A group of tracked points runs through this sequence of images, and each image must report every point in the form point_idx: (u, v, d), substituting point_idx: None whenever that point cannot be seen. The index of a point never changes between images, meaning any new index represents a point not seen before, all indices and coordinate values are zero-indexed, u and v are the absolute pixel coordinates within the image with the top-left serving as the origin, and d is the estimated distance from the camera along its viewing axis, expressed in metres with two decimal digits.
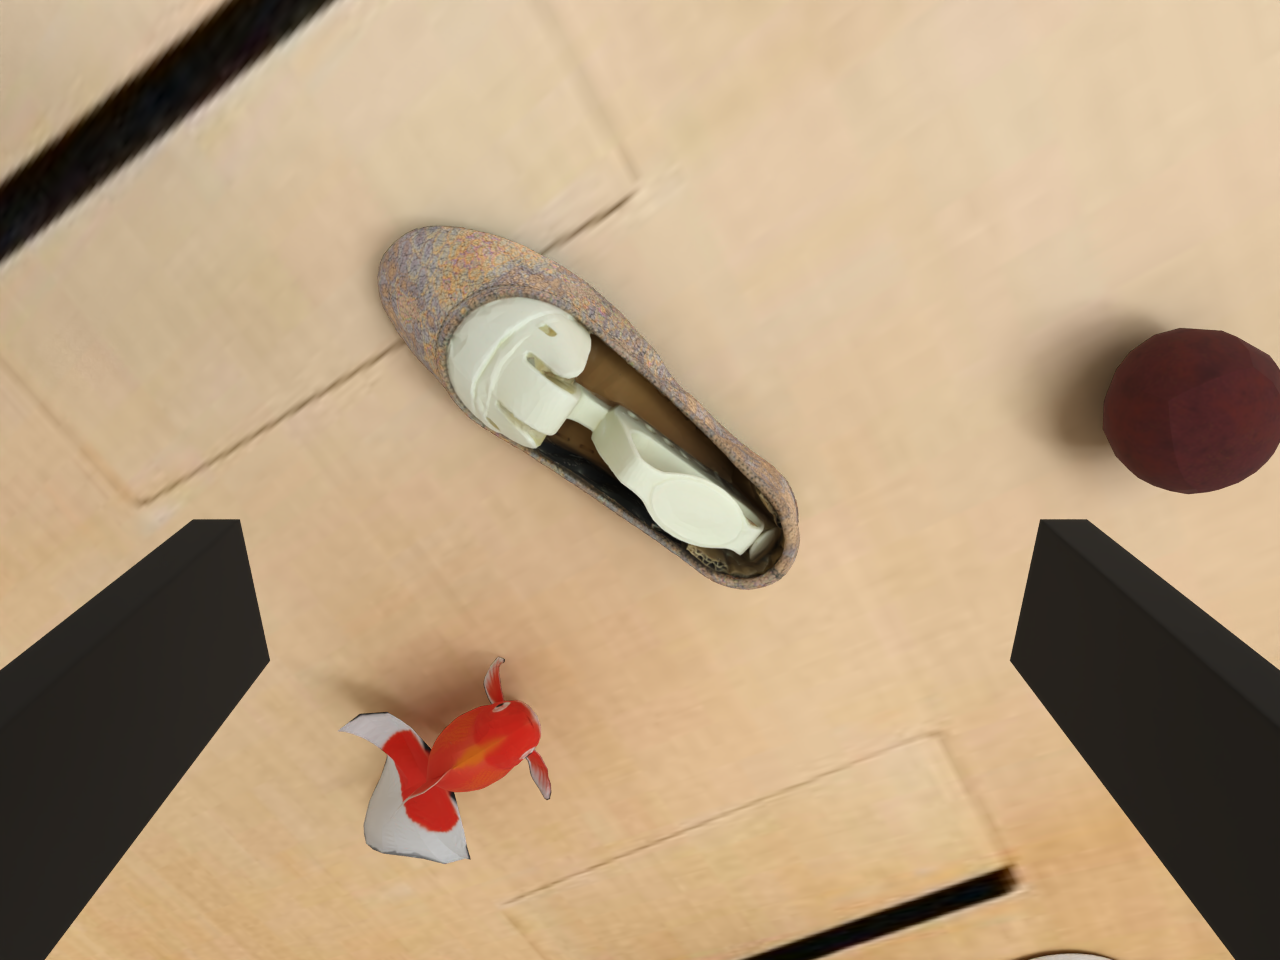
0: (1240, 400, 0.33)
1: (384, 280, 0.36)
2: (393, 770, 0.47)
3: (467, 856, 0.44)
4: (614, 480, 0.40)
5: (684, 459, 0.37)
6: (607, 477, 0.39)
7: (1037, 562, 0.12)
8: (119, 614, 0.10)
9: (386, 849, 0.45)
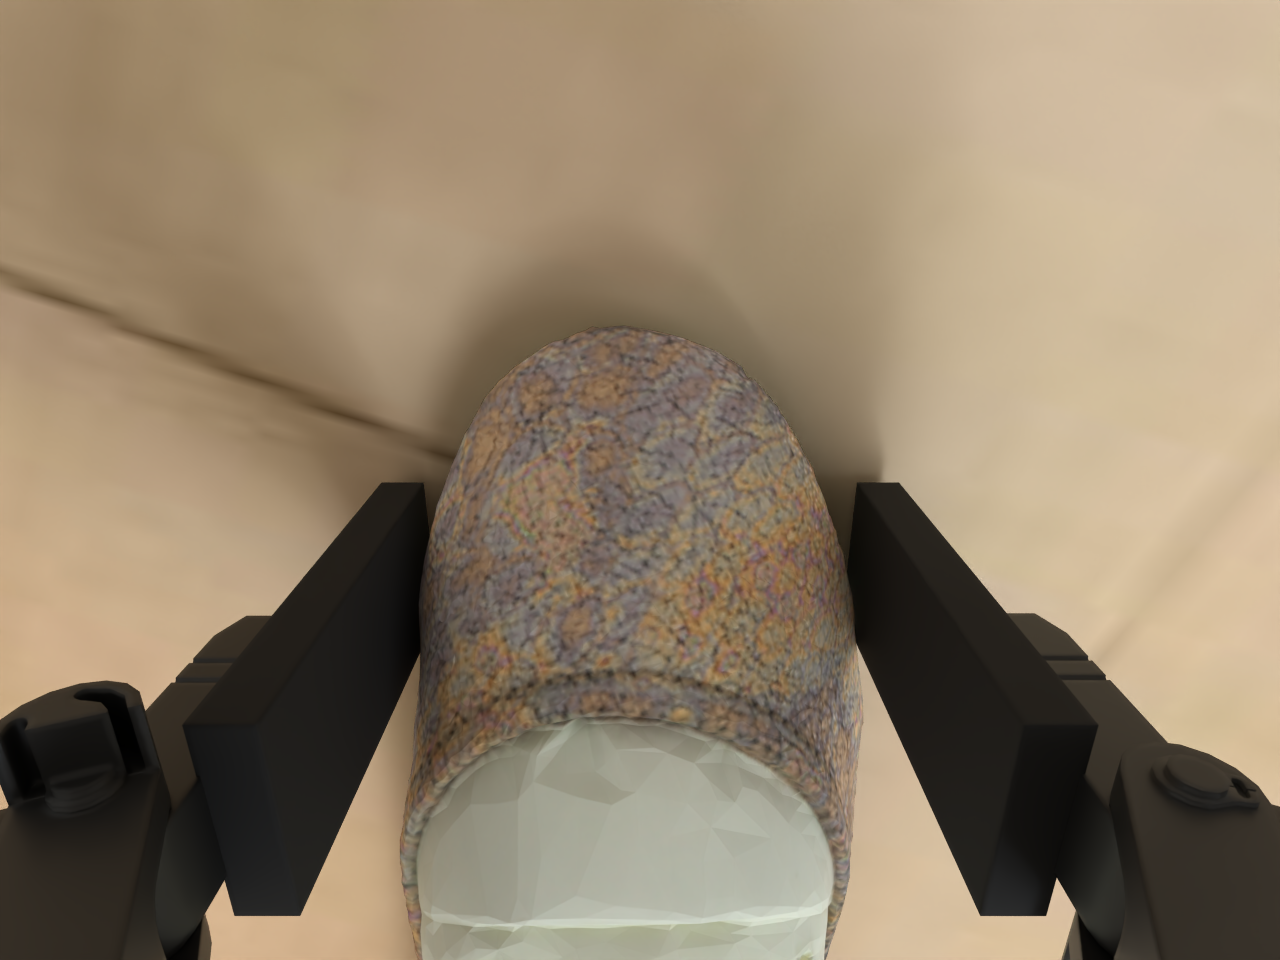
0: None
1: (562, 376, 0.11)
2: None
3: None
4: None
5: None
6: None
7: (855, 521, 0.14)
8: (362, 556, 0.11)
9: None
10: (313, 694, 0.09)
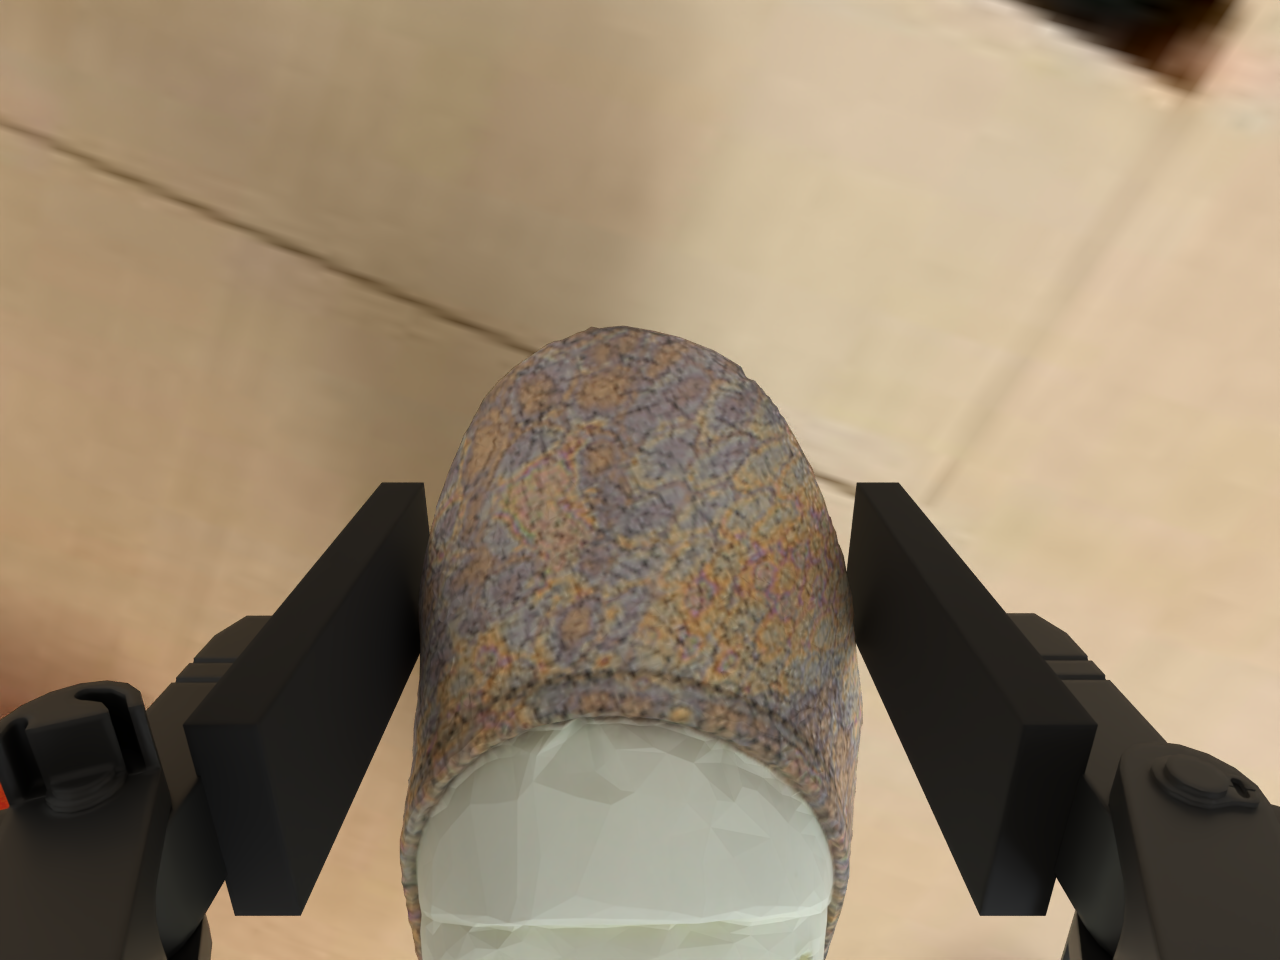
0: None
1: (561, 376, 0.12)
2: None
3: None
4: None
5: None
6: None
7: (855, 521, 0.14)
8: (362, 556, 0.11)
9: None
10: (313, 693, 0.09)
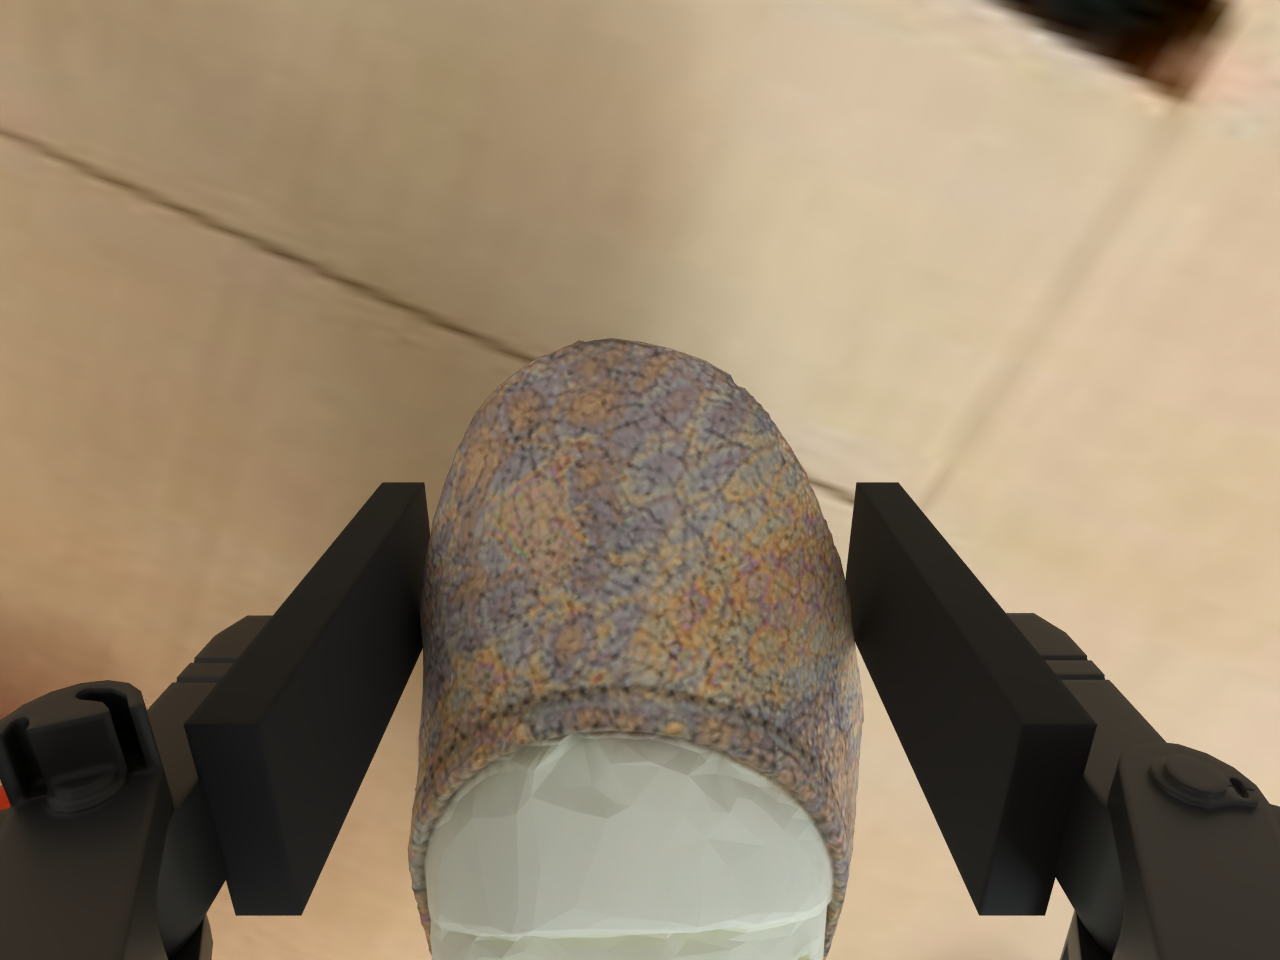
0: None
1: (549, 391, 0.12)
2: None
3: None
4: None
5: None
6: None
7: (855, 521, 0.14)
8: (363, 556, 0.11)
9: None
10: (314, 693, 0.09)
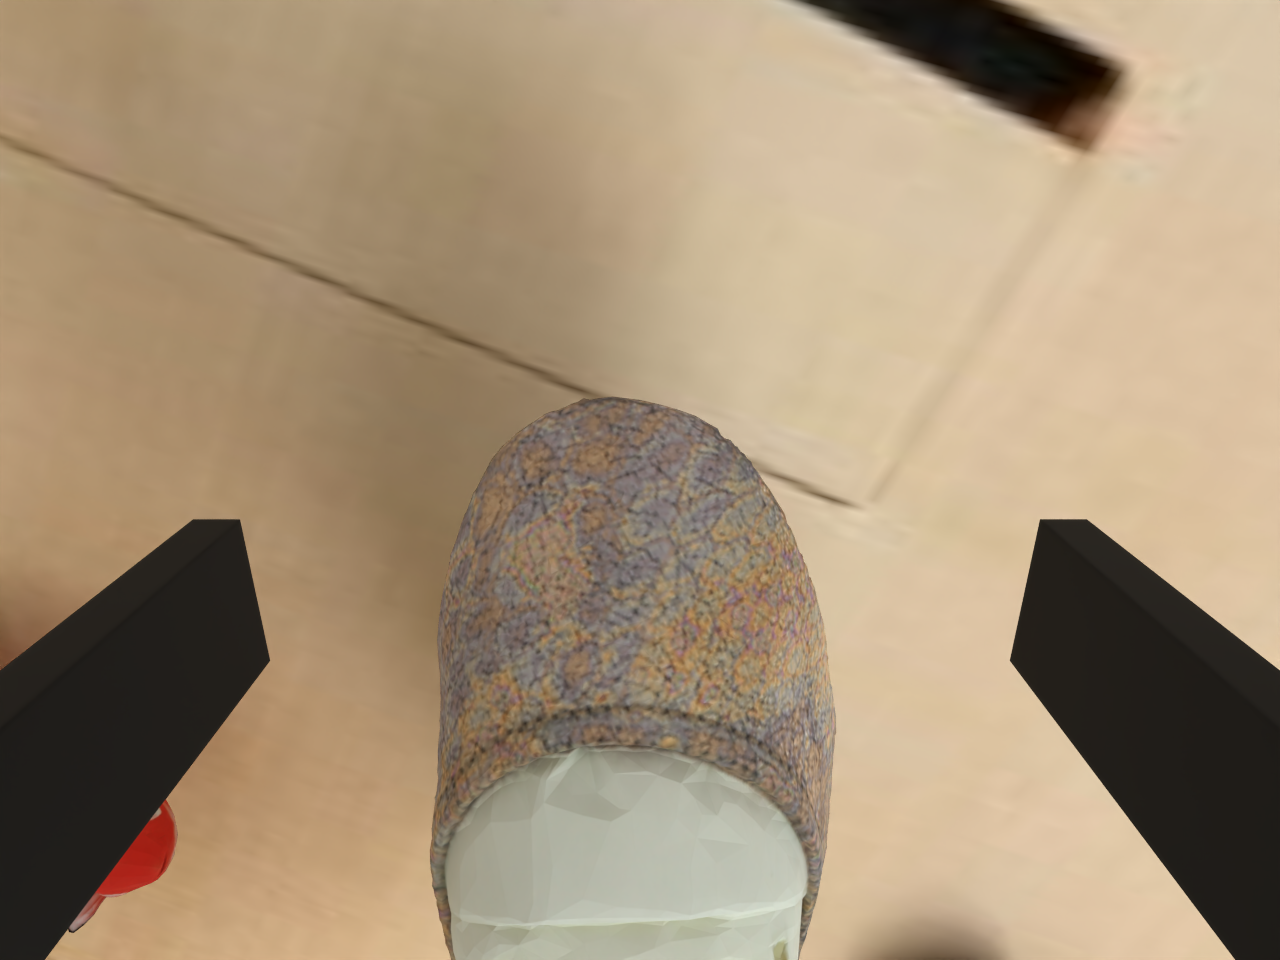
0: None
1: (557, 444, 0.13)
2: None
3: None
4: None
5: None
6: None
7: (1037, 562, 0.12)
8: (119, 614, 0.10)
9: None
10: None
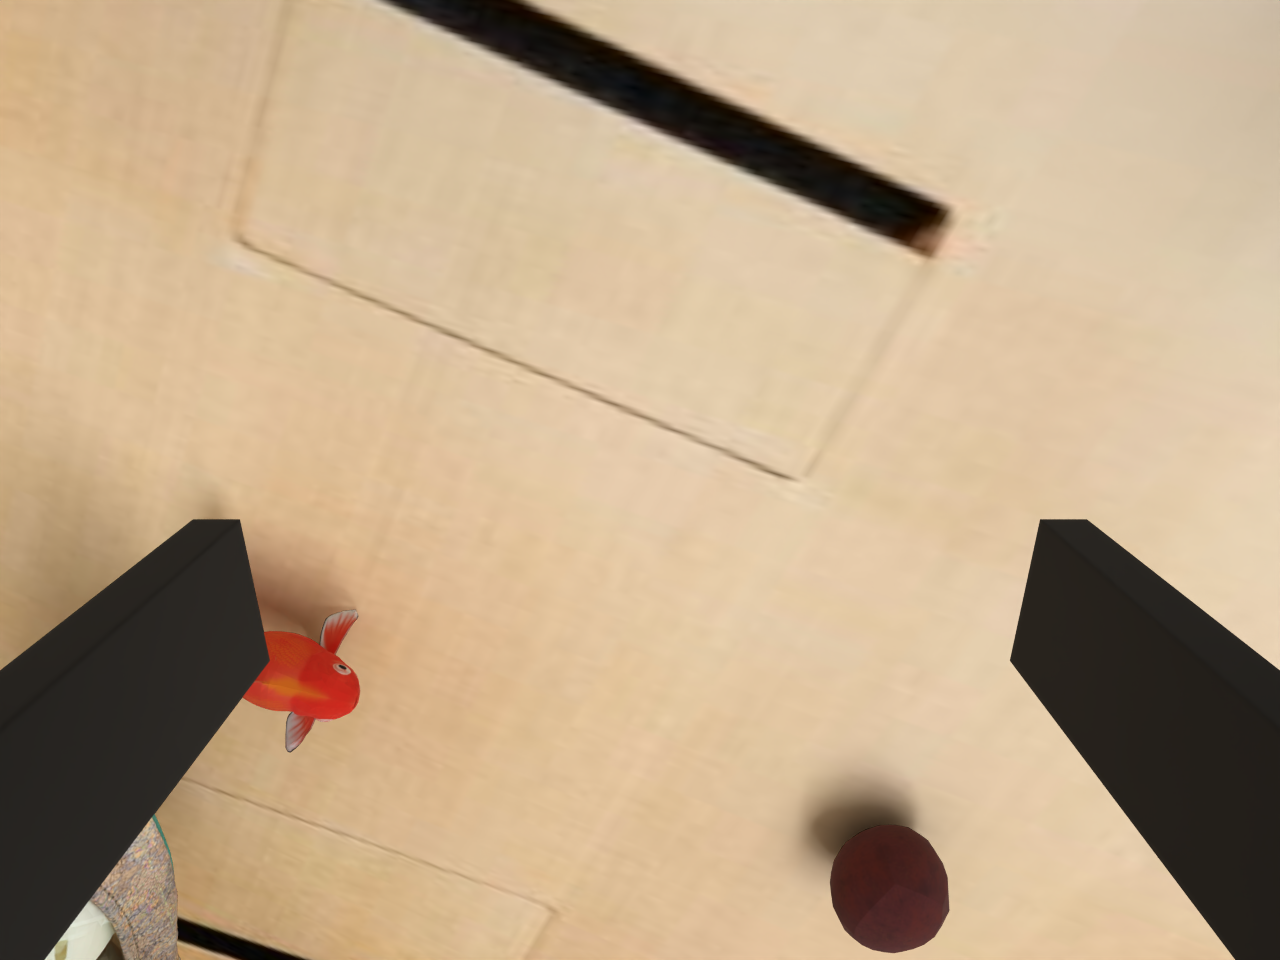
0: (922, 919, 0.46)
1: None
2: None
3: None
4: None
5: None
6: None
7: (1037, 562, 0.12)
8: (119, 614, 0.10)
9: None
10: None
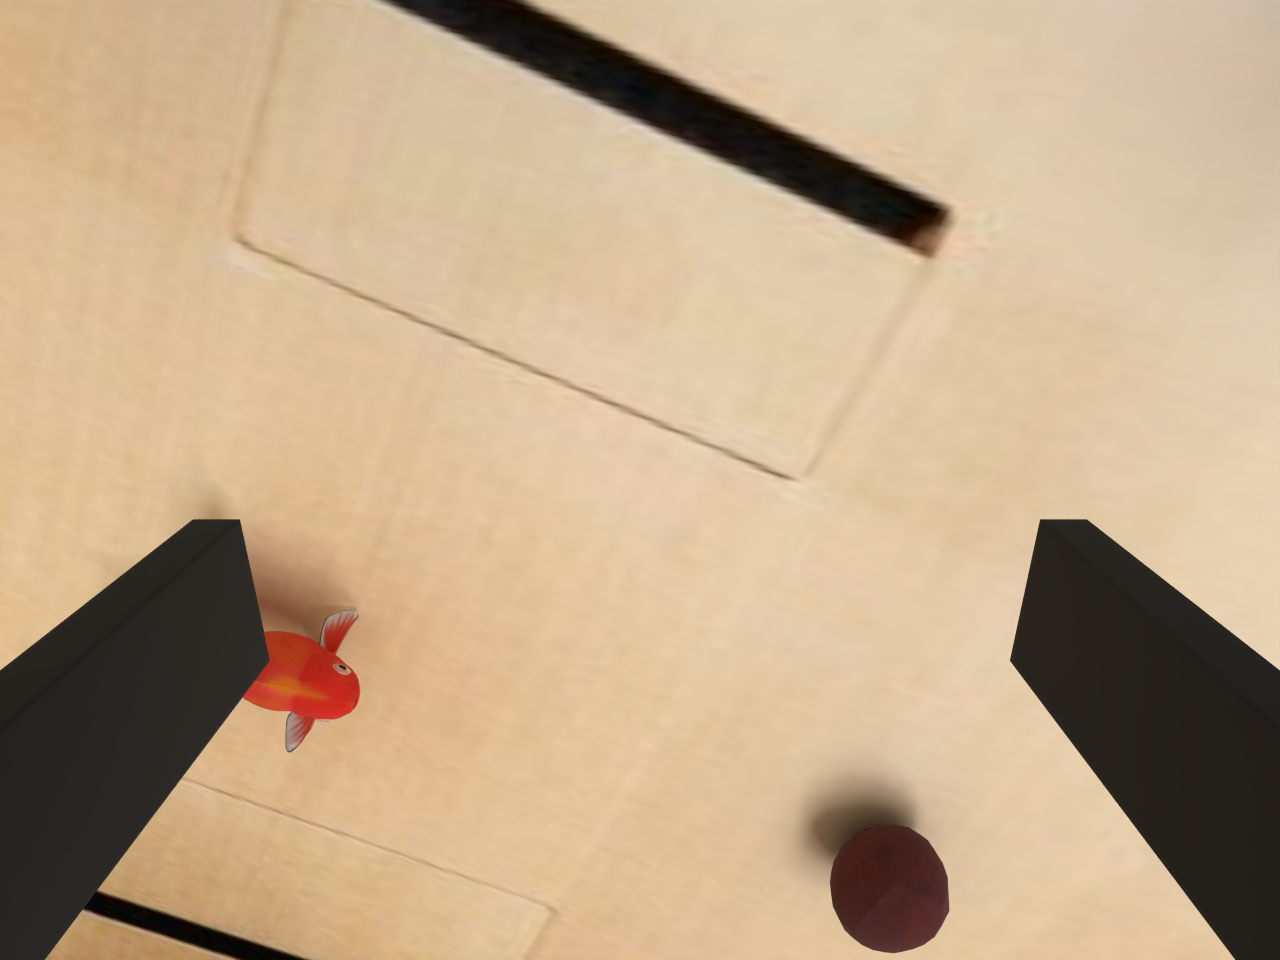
0: (922, 919, 0.46)
1: None
2: None
3: None
4: None
5: None
6: None
7: (1037, 562, 0.12)
8: (119, 614, 0.10)
9: None
10: None
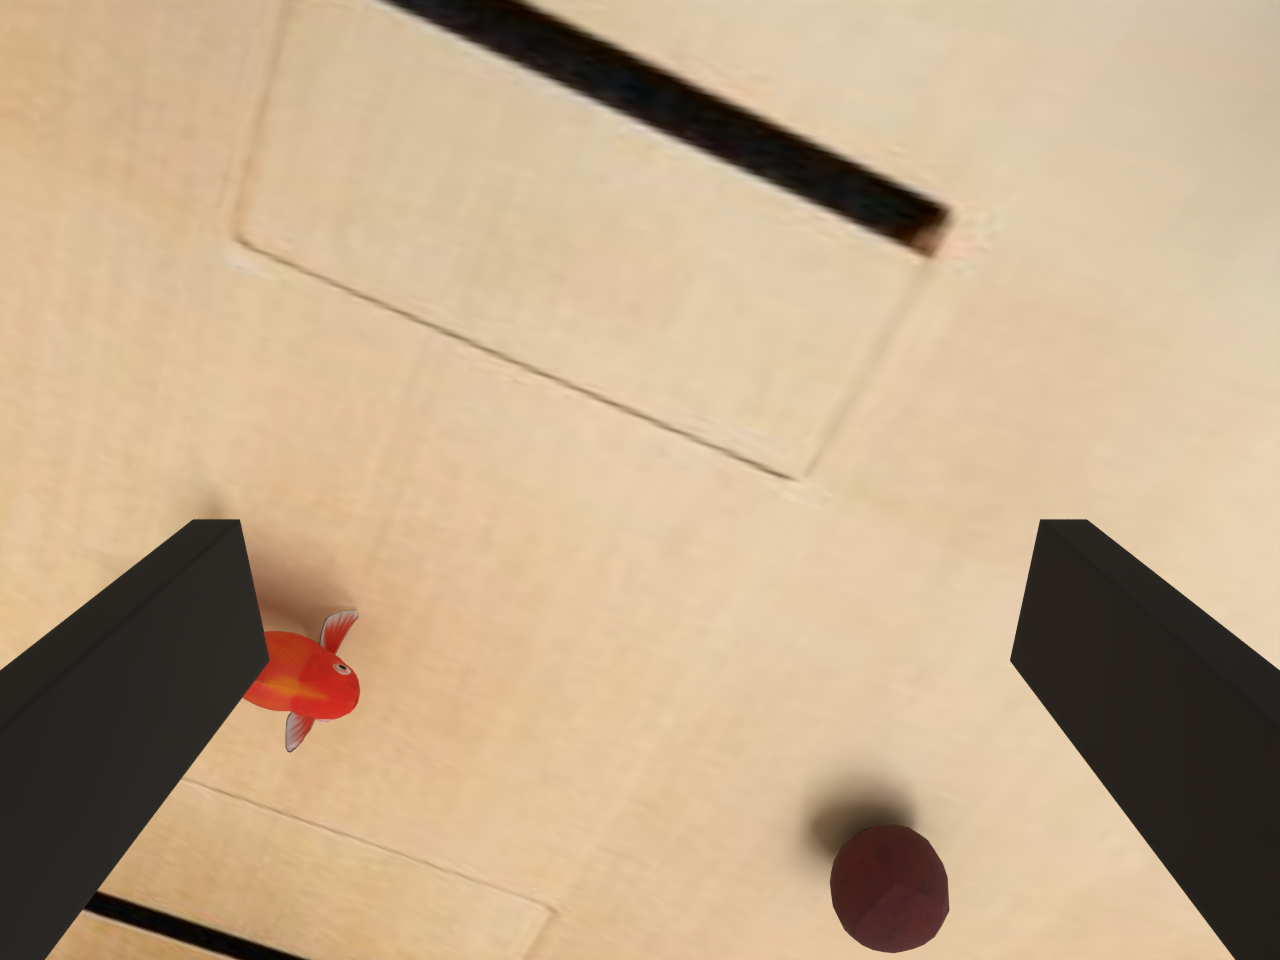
0: (922, 919, 0.46)
1: None
2: None
3: None
4: None
5: None
6: None
7: (1037, 562, 0.12)
8: (119, 614, 0.10)
9: None
10: None
